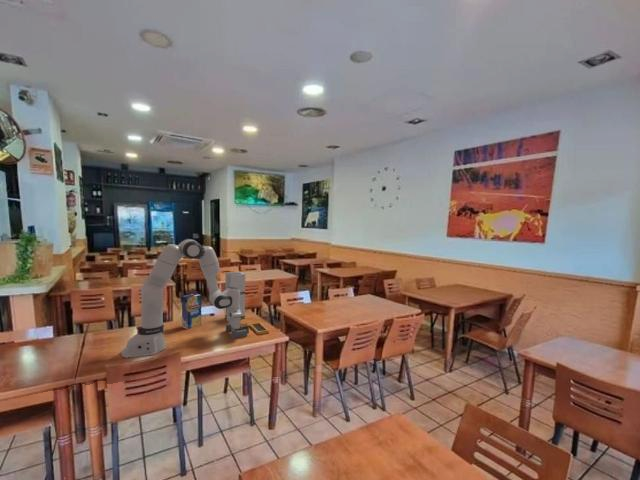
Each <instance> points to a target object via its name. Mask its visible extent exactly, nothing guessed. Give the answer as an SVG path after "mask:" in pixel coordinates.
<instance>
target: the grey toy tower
mask: <svg viewBox="0 0 640 480" xmlns="http://www.w3.org/2000/svg"><path fill="white" fill-rule="evenodd" d="M224 279H225V281H224V282H225V284H224V285H225V286H224V287H225V289H224V291H225V290H226V289H228V287H235V288H238V289H239V290H240V311H241V314H242V316H241V320H245V317H246V273H244V272H241V271H233V272H225V278H224ZM224 318H226V319H227V314H225V315H224Z"/></svg>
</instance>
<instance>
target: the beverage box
mask: <svg viewBox="0 0 640 480" xmlns="http://www.w3.org/2000/svg"><path fill="white" fill-rule="evenodd" d="M198 326H202V294H199V293H191V294H186V295H183V296H181V328H184V329H187V330H190V329H192V328H196V327H198Z"/></svg>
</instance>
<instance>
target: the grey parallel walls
mask: <svg viewBox="0 0 640 480" xmlns="http://www.w3.org/2000/svg"><path fill="white" fill-rule="evenodd" d="M240 325H241V323H240ZM225 332H226V333H227V332H230V338H231V340H233V339H239V338H245V337H248V333H247V330H240V331H239V329H235V331H234V332H232V331H231V324H230V323H229V324H225Z"/></svg>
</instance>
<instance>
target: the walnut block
mask: <svg viewBox="0 0 640 480" xmlns="http://www.w3.org/2000/svg"><path fill="white" fill-rule="evenodd" d="M240 330H247V334H249V333H250V327H249V325H248V323H242V324H241V325H240V328H239V330H238V331H240Z"/></svg>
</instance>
